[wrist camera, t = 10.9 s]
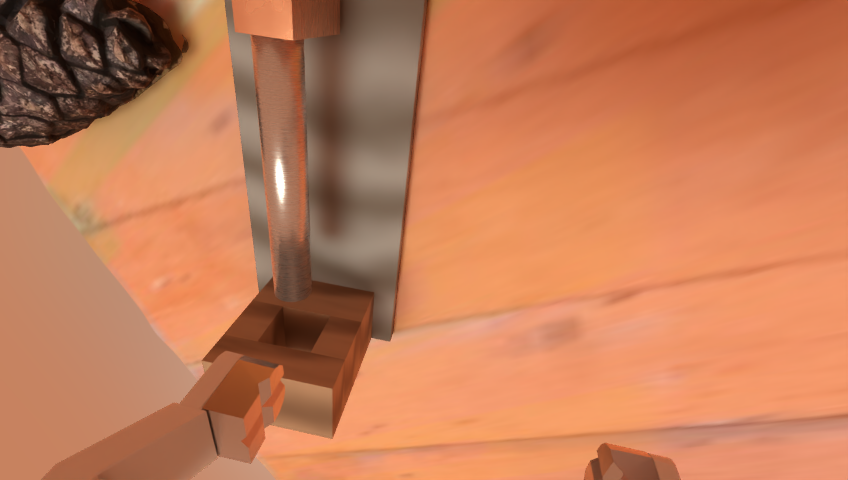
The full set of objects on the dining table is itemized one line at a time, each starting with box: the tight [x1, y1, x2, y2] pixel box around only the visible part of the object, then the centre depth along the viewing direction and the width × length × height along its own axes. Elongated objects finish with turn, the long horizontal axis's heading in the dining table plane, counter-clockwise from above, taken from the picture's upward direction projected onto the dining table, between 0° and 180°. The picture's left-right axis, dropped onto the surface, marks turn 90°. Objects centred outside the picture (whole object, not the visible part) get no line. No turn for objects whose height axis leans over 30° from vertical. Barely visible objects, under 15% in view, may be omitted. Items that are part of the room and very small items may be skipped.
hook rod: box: [232, 0, 340, 302], centre depth 28 cm, size 21×3×7 cm, turn 173°
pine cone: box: [0, 0, 188, 148], centre depth 28 cm, size 10×18×10 cm, turn 114°
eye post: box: [202, 0, 427, 439], centre depth 29 cm, size 32×14×13 cm, turn 173°
